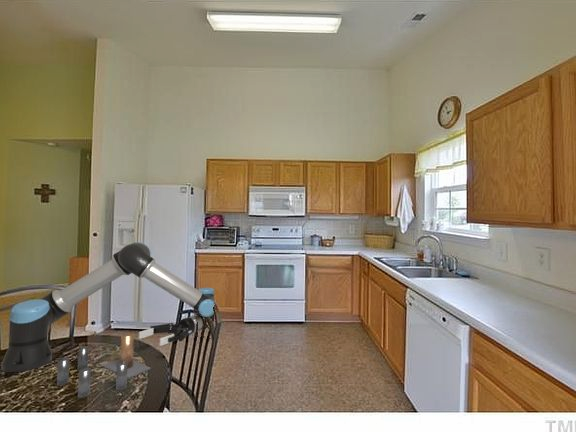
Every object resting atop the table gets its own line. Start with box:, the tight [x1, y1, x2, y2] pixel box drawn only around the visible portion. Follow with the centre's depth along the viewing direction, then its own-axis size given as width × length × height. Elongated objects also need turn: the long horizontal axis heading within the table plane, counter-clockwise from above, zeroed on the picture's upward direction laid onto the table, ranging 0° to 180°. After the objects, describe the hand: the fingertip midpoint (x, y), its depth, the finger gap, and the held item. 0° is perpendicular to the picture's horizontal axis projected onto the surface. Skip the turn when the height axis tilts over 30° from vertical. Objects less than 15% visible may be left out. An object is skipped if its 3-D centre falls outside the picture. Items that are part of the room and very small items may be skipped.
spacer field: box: [56, 345, 128, 399], centre depth 107 cm, size 28×12×8 cm, turn 59°
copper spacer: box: [119, 332, 135, 369], centre depth 119 cm, size 4×4×12 cm
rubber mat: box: [101, 358, 152, 380], centre depth 119 cm, size 17×9×1 cm, turn 59°
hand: (149, 338), depth 127 cm, fingers open, 13 cm apart
